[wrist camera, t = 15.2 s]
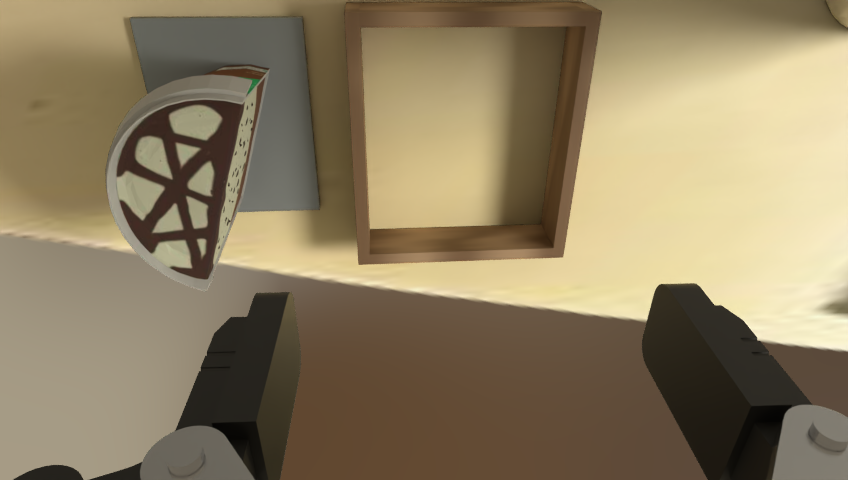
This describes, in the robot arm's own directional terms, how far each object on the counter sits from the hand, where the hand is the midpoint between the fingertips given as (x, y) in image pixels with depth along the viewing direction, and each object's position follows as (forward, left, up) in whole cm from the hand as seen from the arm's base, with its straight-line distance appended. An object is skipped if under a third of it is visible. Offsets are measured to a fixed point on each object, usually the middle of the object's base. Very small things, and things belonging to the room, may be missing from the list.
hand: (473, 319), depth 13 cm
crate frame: (-4, +6, -28) cm, 28 cm away
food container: (+13, +5, -27) cm, 31 cm away
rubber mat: (+11, +5, -28) cm, 30 cm away
